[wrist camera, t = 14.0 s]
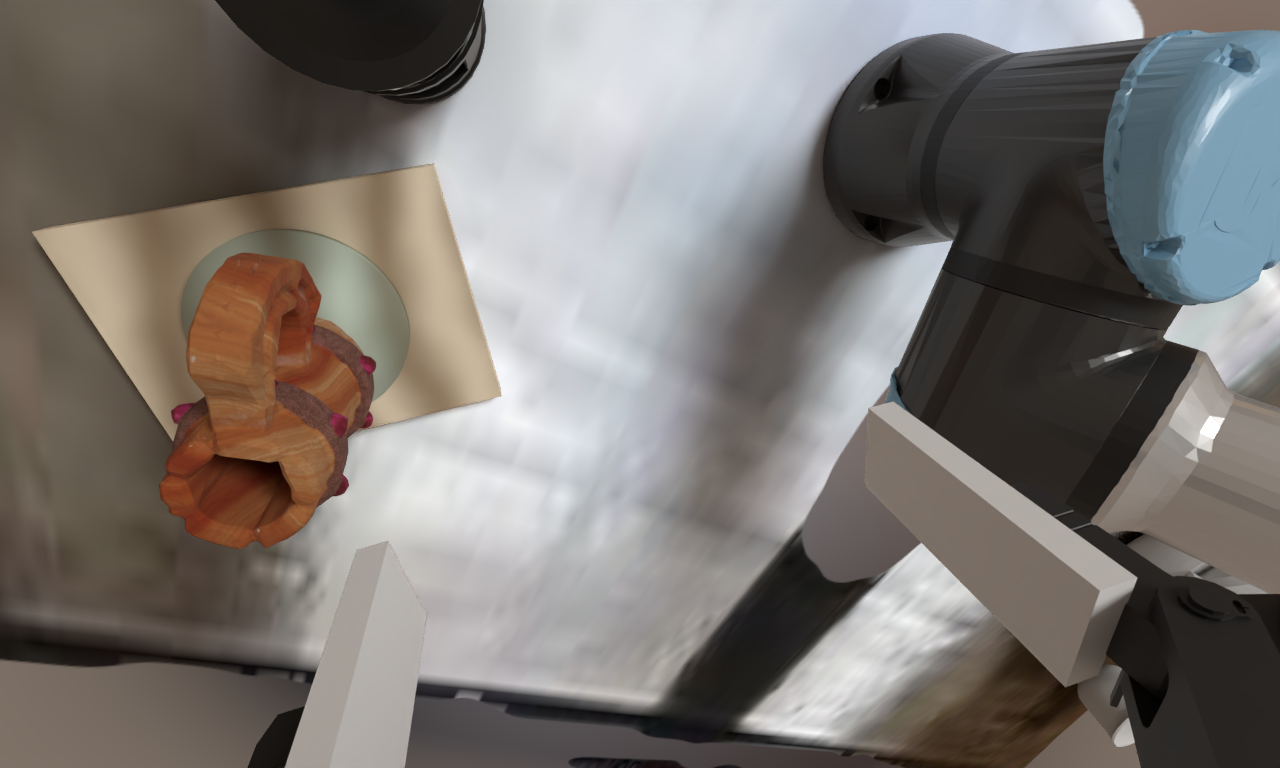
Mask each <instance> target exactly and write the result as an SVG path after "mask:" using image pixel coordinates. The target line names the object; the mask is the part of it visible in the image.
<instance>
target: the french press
mask: <svg viewBox="0 0 1280 768" xmlns="http://www.w3.org/2000/svg"><path fill="white" fill-rule="evenodd" d="M215 1H216V2H217V3H218V4H219V5H220V7H221V8H222V9H223V10H224V11H225V12H226V14H227V15H228V16H229V17H230V18H231V20H232V21H233V22H234V23H235V24H236V25H237V27H238V28H239V29H241V30H242V31H243V32H244V33H245V34H246V35H247V36H248V37H250V38H251V39H252V40H253V41H254V42H255V43H256V44H258V45H259V46H260V47H261V48H262V49H263V50H264V51H266V52H267V53H269V54H270V55H272V56H273V57H275V58H276V59H278V60H279V61H281V62H282V63H284V64H286V65H287V66H289V67H290V68H292V69H293V70H295V71H298V72H300V73H302V74H304V75H307V76H309V77H311V78H313V79H316V80H318V81H320V82H322V83H326V84H330V85H334V86H338V87H342V88H346V89H350V90H361V91H365V92H369V93H373V94H378V95H380V96H382V97H385V98H387V99H389V100H393V101H397V102H401V103H405V104H426V103H432V102H437V101H440V100H442V99H445V98H447V97H449V96H451V95H452V94H454V93H455V92H457V91H458V90H459V89H461V88H462V87H463V86H464V85H465V84H466V83H467V81H468V80H469V79H470V78H471V77H472V75H473V73H474V72H475V70H476V68H477V66H478V64H479V62H480V59H481V55H482V52H483V49H484V43H485V33H486V24H485V11H484V7H483V2H484V0H215Z"/></svg>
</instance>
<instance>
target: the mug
mask: <svg viewBox="0 0 1280 768" xmlns="http://www.w3.org/2000/svg"><path fill="white" fill-rule="evenodd" d="M321 297H322V296H321V294H320V292H319V291H318V289H317V287H316V285H315V283H314V281H313V279H312V277H311V275H310V274H309V272H308V270H307V268H306V266H305V265H304V263H302V262H300V261H298V260H294V259H288V258H281V257H274V256H268V255H262V254H255V253H246V252H244V253H239V254H236V255H233V256H231V257H229V258H227V259H226V260H225V262H224V264H223V265H222V266H221V267H220V268H218V270H217V271H216V272H215V274H214V275H213V276H212V278H211V279H210V280H209V282H208V283H207V284H206V287H205V289H204V292H203V294H202V297H201V299H200V302H199V304H198V306H197V309H196V312H195V315H194V317H193V320H192V323H191V325H190V328H189V331H188V340H187V349H186V361H187V369H188V373H189V375H190V377H191V379H192V380H193V381H194V382H195V384H196V385H197V386H198V387H199V388H200V389H201V390H202V392H203V393H204V395H205V396H204V397H203V398H202V399H200V400H199V401H197V402H196V403H186V404H181V405H178V406H176V407H175V408H174V409H173V410H171V416H172V419H173V422H174V423H175V424H178V426H177V430H176V434H175V437H174V441H173V452H172V454H171V455H170V456H169V458H168V459H167V461H166V471H167V472H168V473H167V474H166V475H165V477H164V479H163V480H162V482H161V483H160V485H159V489H160V498H161V500H163V501H164V502H165V503H166V504H167V505H168V506H169V512H170V513H171V514H172V515H175V516H180V517H182V518H183V519H184V520H185V528H186V531H187V532H188V533H190V534H191V535H192V536H195V537H198V538H201V539H204V540H206V541H209V542H212V543H215V544H219V545H223V546H228V547H232V548H236V549H239V548H245V547H246V546H247V545H249V544H250V543H251V542H254V541H259V542H260V543H261V544H262V545H263V546H264V547H265V548H268V547H270V546H272V545H274V544H276V543H278V542H280V541H283V540H285V539H288V538H289V537H291V536H292V535H294V534H295V533H297V532H298V531H299V530H300V529H302V528H303V527H304V526H305V525H306V524H307V523H308V521H309V520H310V519H311V517H312V516H313V514H314V511H315V509H316V508H317V507H318V506H319V505H321V504H322V503H324V502H325V501H326V500H328V499H329V498H330V497H332V496H339V495H341V494H343V493H345V491H346V490H347V488H348V486H349V483H348V480H347V478H346V477H345V476H344V475H343V471H344V468H345V465H346V460H347V455H348V439H347V438H348V437H349V436H350V435H352V434H353V433H354V432H355V431H357V430H358V429H359V428H361V429H366V428H368V427H370V426H371V425H372V423H373V416H372V414H371V413H370V411H369V409H370V406H371V402H372V399H373V395H374V378H373V372H374V371H375V369H376V362H375V361H374V360H373V359H372V358H371V357H369V356H365V355H363V352H362V350H361V349H360V348H359V346H358V345H357V344H356V342H355V341H354V340H353V339H352V338H351V337H350V336H349V335H347V334H346V333H345V332H344V331H343V330H342V329H341V328H340V327H338V326H337V325H336V324H334V323H333V322H332V321H328V320H325V319H322V318H318V317H316V316H317V313H318V310H319V307H320V302H321Z"/></svg>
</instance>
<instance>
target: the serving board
mask: <svg viewBox="0 0 1280 768" xmlns="http://www.w3.org/2000/svg"><path fill="white" fill-rule="evenodd" d="M32 233H33V234H34V236H35V237H36V239H37V240H38V242H39V243H40V245H41V246H42V248H43V249H44V251H45V252H46V254H47V255H48V257H49V258H50V260H51V261H52V262H53V264H54V265H55V267H56V268H57V270H58V271H59V273H60V274H61V276H62V277H63V279H64V280H65V282H66V283H67V285H68V286H69V288H70V289H71V291H72V292H73V294H74V295H75V297H76V298H77V300H78V301H79V303H80V304H81V306H82V307H83V309H84V310H85V312H86V313H87V315H88V316H89V318H90V319H91V320H92V322H93V323H94V325H95V326H96V328H97V329H98V331H99V332H100V334H101V335H102V337H103V338H104V340H105V341H106V343H107V344H108V346H109V347H110V349H111V350H112V352H113V353H114V355H115V356H116V358H117V359H118V361H119V362H120V364H121V365H122V367H123V368H124V370H125V371H126V373H127V374H128V375H129V377H130V378H131V380H132V381H133V383H134V384H135V386H136V387H137V389H138V390H139V392H140V393H141V395H142V396H143V398H144V399H145V401H146V402H147V404H148V405H149V407H150V408H151V410H152V411H153V413H154V414H155V416H156V417H157V419H158V420H159V422H160V423H161V425H162V426H163V428H164V429H165V431H166V432H167V433H168V435H169V436H170V438H171V439H172V441H174V437H175V434H176V430H177V426H178V424H175V423H174V422H173V419H172V416H171V410H173V409H174V408H175V407H176V406H178V405H181V404H186V403H196V402H197V401H199V400H200V399H202V398H203V397H204V396H205V395H204V393H203V392H202V390H201V389H200V388H199V387H198V386H197V385H196V384H195V382H194V381H193V380H192V379H191V377H190V375H189V373H188V369H187V361H186V349H187V340H188V331H189V328H190V325H191V323H192V320H193V317H194V315H195V312H196V309H197V306H198V304H199V302H200V299H201V297H202V294H203V292H204V289H205V287H206V284H207V283H208V282H209V280H210V279H211V278H212V276H213V275H214V274H215V272H216V271H217V270H218V268H220V267H221V266H222V265H223V264H224V262H225V260H226V259H227V258H229V257H231V256H233V255H236V254H239V253H244V252H246V253H255V254H262V255H268V256H274V257H281V258H288V259H294V260H298V261H300V262H302V263H304V265H305V266H306V268H307V270H308V272H309V274H310V275H311V277H312V279H313V281H314V283H315V285H316V287H317V289H318V291H319V292H320V294H321V296H322V297H321V302H320V307H319V310H318V313H317V316H316V317H318V318H322V319H325V320H328V321H332V322H333V323H334V324H336V325H337V326H338V327H340V328H341V329H342V330H343V331H344V332H345V333H346V334H347V335H349V336H350V337H351V338H352V339H353V340H354V341H355V342H356V344H357V345H358V346H359V348H360V349H361V350H362V352H363V355H365V356H369V357H371V358H372V359H373V360H374V361H375V362H376V369H375V371H374V372H373V378H374V395H373V399H372V402H371V406H370V409H369V411H370V413H371V414H372V416H373V423H372V425H371V426H370V427H368V428H372V427H377V426H381V425H385V424H389V423H393V422H397V421H401V420H405V419H409V418H414V417H418V416H422V415H426V414H430V413H434V412H438V411H442V410H446V409H451V408H455V407H459V406H463V405H467V404H471V403H475V402H479V401H483V400H488V399H492V398H496V397H500V396H501V387H500V384H499V381H498V377H497V374H496V370H495V367H494V364H493V360H492V357H491V354H490V350H489V347H488V344H487V340H486V337H485V333H484V330H483V327H482V323H481V320H480V317H479V313H478V310H477V306H476V303H475V300H474V296H473V293H472V290H471V286H470V283H469V279H468V276H467V273H466V269H465V266H464V263H463V259H462V256H461V253H460V249H459V246H458V242H457V239H456V236H455V232H454V229H453V226H452V222H451V219H450V215H449V212H448V209H447V205H446V202H445V199H444V195H443V192H442V189H441V185H440V182H439V178H438V175H437V172H436V168H435V165H434V163H433V164H427V165H421V166H415V167H409V168H403V169H397V170H391V171H385V172H379V173H373V174H367V175H361V176H355V177H348V178H342V179H336V180H330V181H324V182H318V183H312V184H306V185H300V186H294V187H288V188H282V189H276V190H270V191H264V192H258V193H252V194H246V195H240V196H234V197H228V198H222V199H216V200H210V201H204V202H198V203H192V204H186V205H180V206H174V207H168V208H162V209H156V210H150V211H144V212H138V213H132V214H126V215H120V216H114V217H108V218H102V219H96V220H90V221H84V222H77V223H71V224H65V225H59V226H53V227H48V228H45V229H41V230H37V231H34V232H32ZM368 428H366V429H368ZM360 430H364V429H361V428H359V429H358V430H357V431H360ZM355 432H356V431H355Z"/></svg>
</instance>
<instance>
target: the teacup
mask: <svg viewBox="0 0 1280 768" xmlns="http://www.w3.org/2000/svg"><path fill="white" fill-rule="evenodd" d="M1121 670H1122V668H1120V667H1117V666H1115V665H1103V666H1102V668H1101V671H1100V673H1099V675H1098V676H1095V677H1092V678H1090V679H1087V680H1084V681H1082V682H1079V683H1077V684H1078V689H1077V691H1078V696H1079V698H1080V700H1081V701H1082V703H1083V704H1084V705H1085V707H1086V708H1087V709H1088V710H1089V711H1090V712H1091V714H1092V715H1093V716H1094V717H1095V718H1096V720H1097V721H1098V722H1099V723H1100V724H1101V725H1102V727H1103V728H1104V729H1105V730H1106V732H1107V733H1108V734H1109V736H1110V738H1111V742H1112V744H1113V745H1114V746H1118V747H1119V746H1120V747H1121V746H1127V745H1130V744H1132V743H1134V742H1135V741H1134V737H1133V733H1132V729H1131V725H1130V721H1129V717H1128V713H1127V709H1126V705H1125V700H1124V696H1122V698H1121V700H1120V702H1119V705H1118V707H1117V708H1116V707H1113V706H1110V695H1111V693H1112V691H1113V688H1114V686H1115V684H1116V681H1117V679H1118V677H1119V674H1120V672H1121Z"/></svg>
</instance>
